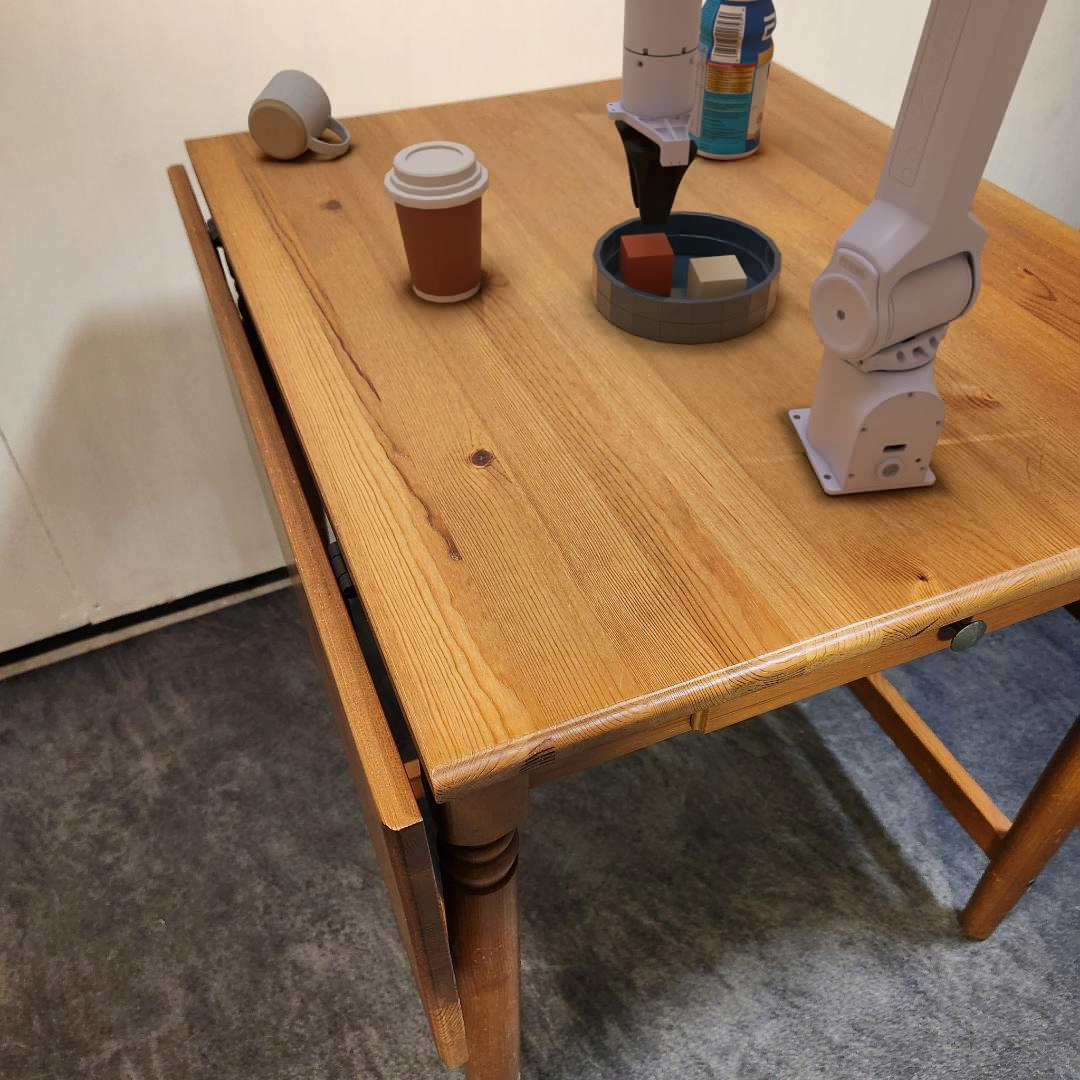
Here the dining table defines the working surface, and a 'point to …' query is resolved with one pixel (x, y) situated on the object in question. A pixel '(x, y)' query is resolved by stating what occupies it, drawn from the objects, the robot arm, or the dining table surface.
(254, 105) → the ceramic mug
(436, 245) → the coffee cup
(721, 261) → the cream block
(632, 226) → the bowl
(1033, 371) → the dining table surface
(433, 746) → the dining table surface
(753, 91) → the beverage bottle
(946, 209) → the robot arm
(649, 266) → the terracotta block
